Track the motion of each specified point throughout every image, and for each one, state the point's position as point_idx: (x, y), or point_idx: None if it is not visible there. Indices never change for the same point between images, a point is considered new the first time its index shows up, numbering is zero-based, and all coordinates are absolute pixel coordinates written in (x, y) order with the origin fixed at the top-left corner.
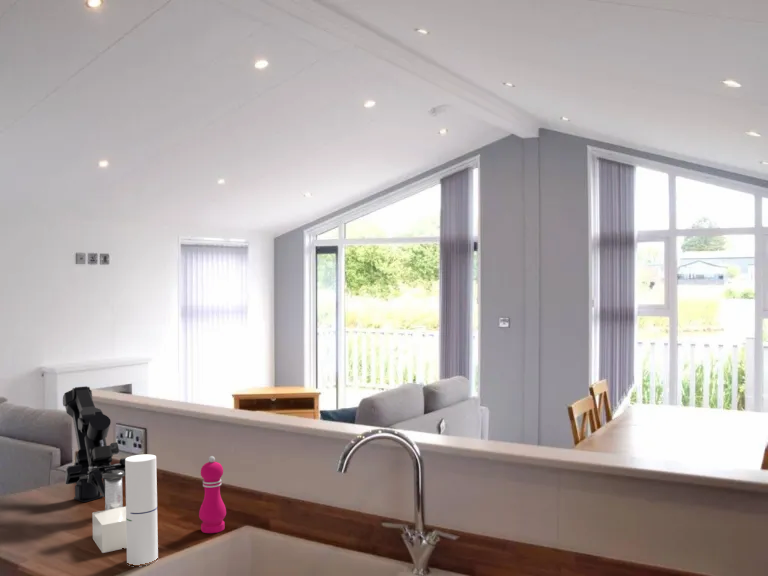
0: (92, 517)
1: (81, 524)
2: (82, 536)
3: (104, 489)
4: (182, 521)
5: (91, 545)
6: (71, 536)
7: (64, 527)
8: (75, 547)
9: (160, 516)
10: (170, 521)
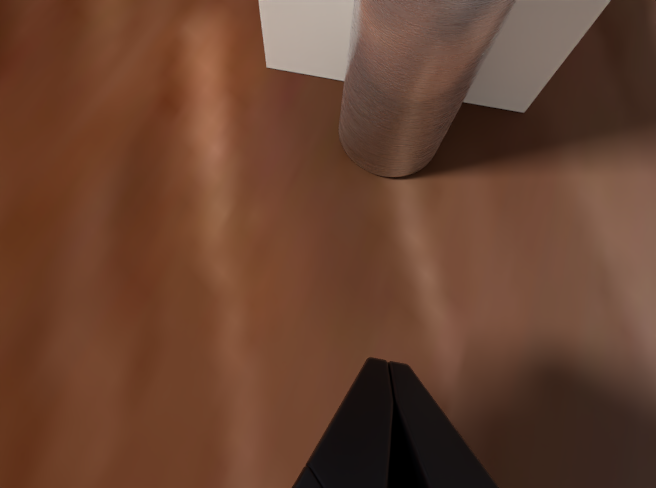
0: (604, 7)
1: (524, 442)
2: (565, 190)
3: (406, 407)
4: (21, 19)
5: None
6: (624, 238)
7: (648, 471)
8: (625, 65)
9: (35, 185)
10: (63, 63)
